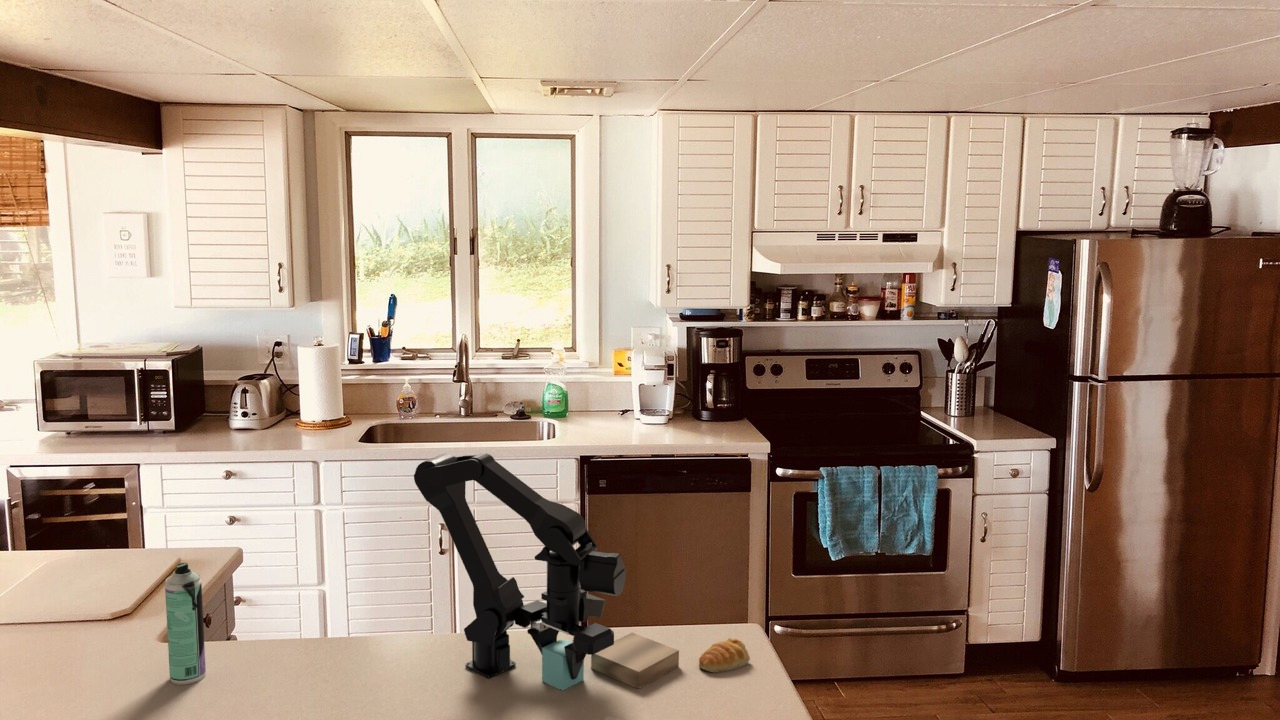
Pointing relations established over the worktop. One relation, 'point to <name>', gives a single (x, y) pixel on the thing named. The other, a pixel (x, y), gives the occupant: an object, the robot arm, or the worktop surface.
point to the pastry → (724, 656)
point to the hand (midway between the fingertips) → (563, 673)
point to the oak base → (635, 660)
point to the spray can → (185, 626)
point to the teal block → (558, 666)
